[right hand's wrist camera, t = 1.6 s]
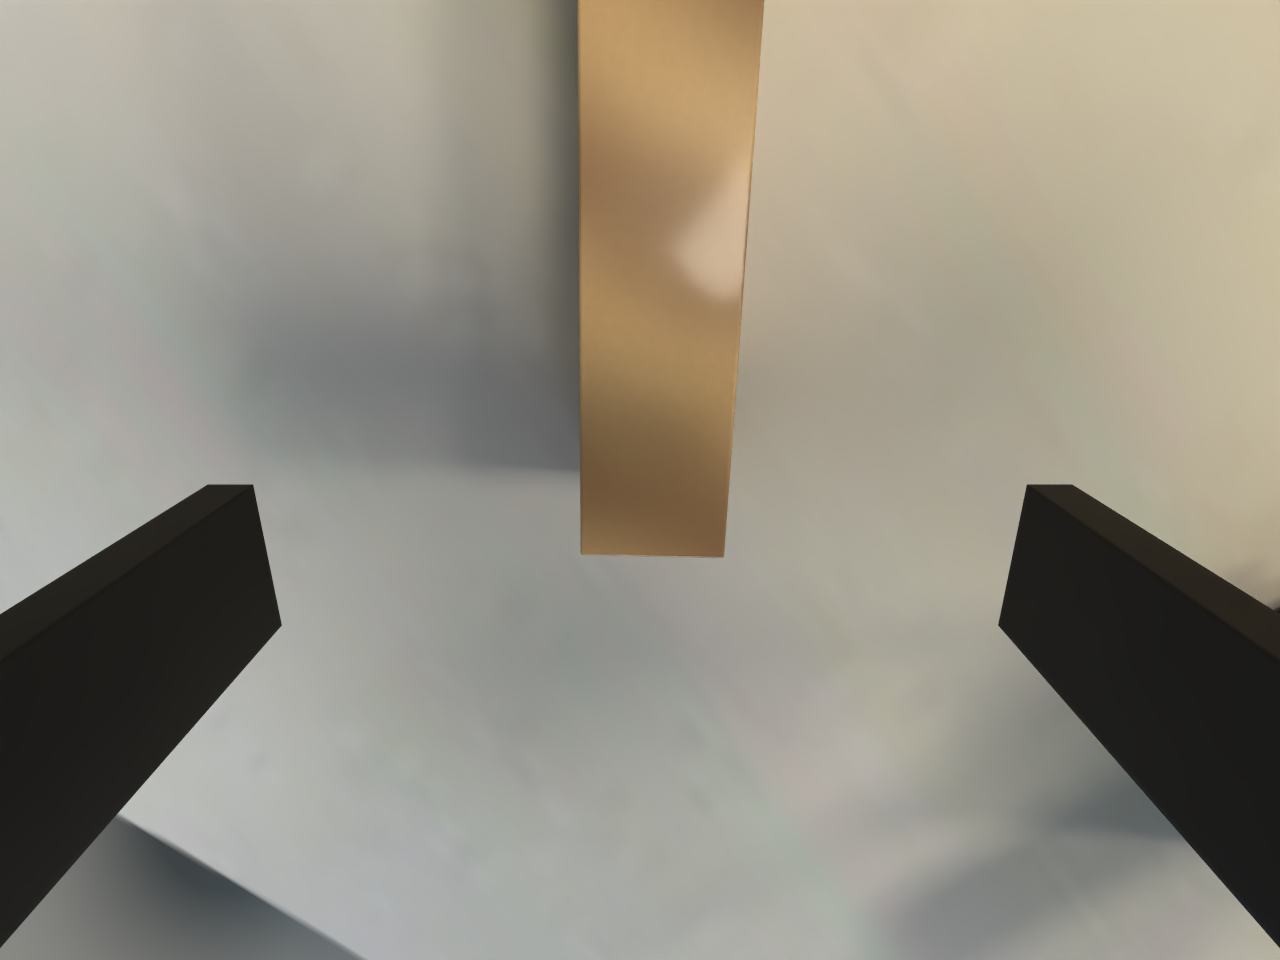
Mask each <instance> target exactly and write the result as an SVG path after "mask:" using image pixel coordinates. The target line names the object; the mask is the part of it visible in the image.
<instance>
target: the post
mask: <svg viewBox="0 0 1280 960" xmlns="http://www.w3.org/2000/svg"><path fill="white" fill-rule="evenodd" d="M763 11H764V0H578V168H579V339H580V510H581V554H582V555H607V556H654V557H701V558H723V556H724V548H725V534H726V520H727V507H728V493H729V479H730V465H731V451H732V438H733V424H734V410H735V396H736V383H737V369H738V355H739V341H740V327H741V314H742V300H743V286H744V272H745V259H746V245H747V231H748V217H749V203H750V190H751V176H752V162H753V148H754V135H755V121H756V107H757V93H758V79H759V66H760V52H761V38H762V24H763Z"/></svg>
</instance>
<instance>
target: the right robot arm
mask: <svg viewBox="0 0 1280 960" xmlns="http://www.w3.org/2000/svg"><path fill="white" fill-rule="evenodd" d="M281 626H282V624H281V619H280V615H279V610H278V605H277V600H276V595H275V590H274V585H273V580H272V575H271V570H270V566H269V561H268V556H267V551H266V546H265V541H264V536H263V531H262V526H261V521H260V516H259V512H258V507H257V502H256V497H255V492H254V487H253V485H206V486H205V487H203V488H202V489H200V490H198V491H197V492H195V493H194V494H192V495H190V496H189V497H187V498H186V499H184V500H182V501H181V502H179V503H178V504H176V505H174V506H173V507H171V508H170V509H168V510H166V511H165V512H163V513H162V514H160V515H158V516H157V517H155V518H154V519H152V520H150V521H149V522H147V523H146V524H144V525H142V526H141V527H139V528H138V529H136V530H134V531H133V532H131V533H130V534H128V535H126V536H125V537H123V538H122V539H120V540H118V541H117V542H115V543H114V544H112V545H110V546H109V547H107V548H106V549H104V550H102V551H101V552H99V553H98V554H96V555H94V556H93V557H91V558H90V559H88V560H86V561H85V562H83V563H82V564H80V565H78V566H77V567H75V568H74V569H72V570H70V571H69V572H67V573H66V574H64V575H62V576H61V577H59V578H58V579H56V580H54V581H53V582H51V583H50V584H48V585H46V586H45V587H43V588H42V589H40V590H38V591H37V592H35V593H34V594H32V595H30V596H29V597H27V598H26V599H24V600H22V601H21V602H19V603H18V604H16V605H14V606H13V607H11V608H10V609H8V610H6V611H5V612H3V613H2V614H0V948H1V946H2V945H3V944H4V943H5V942H6V941H7V940H8V938H9V937H10V936H11V935H12V934H13V933H14V931H15V930H16V929H17V928H18V927H19V926H20V925H21V923H22V922H23V921H24V920H25V919H26V918H27V917H28V915H29V914H30V913H31V912H32V911H33V910H34V909H35V907H36V906H37V905H38V904H39V903H40V902H41V901H42V899H43V898H44V897H45V896H46V895H47V894H48V893H49V891H50V890H51V889H52V888H53V887H54V886H55V885H56V883H57V882H58V881H59V880H60V879H61V878H62V876H63V875H64V874H65V873H66V872H67V871H68V870H69V868H70V867H71V866H72V865H73V864H74V863H75V862H76V860H77V859H78V858H79V857H80V856H81V855H82V854H83V852H84V851H85V850H86V849H87V848H88V847H89V846H90V844H91V843H92V842H93V841H94V840H95V839H96V838H97V836H98V835H99V834H100V833H101V832H102V831H103V830H104V828H105V827H106V826H107V825H108V824H109V823H110V821H111V820H112V819H113V818H114V817H115V816H116V815H117V813H118V812H119V811H120V810H121V809H122V808H123V807H124V805H125V804H126V803H127V802H128V801H129V800H130V799H131V797H132V796H133V795H134V794H135V793H136V792H137V791H138V789H139V788H140V787H141V786H142V785H143V784H144V783H145V781H146V780H147V779H148V778H149V777H150V776H151V775H152V773H153V772H154V771H155V770H156V769H157V768H158V766H159V765H160V764H161V763H162V762H163V761H164V760H165V758H166V757H167V756H168V755H169V754H170V753H171V752H172V750H173V749H174V748H175V747H176V746H177V745H178V744H179V742H180V741H181V740H182V739H183V738H184V737H185V736H186V734H187V733H188V732H189V731H190V730H191V729H192V728H193V726H194V725H195V724H196V723H197V722H198V721H199V719H200V718H201V717H202V716H203V715H204V714H205V713H206V711H207V710H208V709H209V708H210V707H211V706H212V705H213V703H214V702H215V701H216V700H217V699H218V698H219V697H220V695H221V694H222V693H223V692H224V691H225V690H226V689H227V687H228V686H229V685H230V684H231V683H232V682H233V681H234V679H235V678H236V677H237V676H238V675H239V674H240V673H241V671H242V670H243V669H244V668H245V667H246V666H247V664H248V663H249V662H250V661H251V660H252V659H253V658H254V656H255V655H256V654H257V653H258V652H259V651H260V650H261V648H262V647H263V646H264V645H265V644H266V643H267V642H268V640H269V639H270V638H271V637H272V636H273V635H274V634H275V632H276V631H277V630H278V629H279V628H280V627H281ZM998 626H999V627H1000V628H1001V629H1002V630H1003V631H1004V632H1005V634H1006V635H1007V636H1008V637H1009V638H1010V639H1011V640H1012V642H1013V643H1014V644H1015V645H1016V646H1017V647H1018V648H1019V650H1020V651H1021V652H1022V653H1023V654H1024V655H1025V656H1026V658H1027V659H1028V660H1029V661H1030V662H1031V663H1032V664H1033V666H1034V667H1035V668H1036V669H1037V670H1038V671H1039V673H1040V674H1041V675H1042V676H1043V677H1044V678H1045V679H1046V681H1047V682H1048V683H1049V684H1050V685H1051V686H1052V687H1053V689H1054V690H1055V691H1056V692H1057V693H1058V694H1059V695H1060V697H1061V698H1062V699H1063V700H1064V701H1065V702H1066V703H1067V705H1068V706H1069V707H1070V708H1071V709H1072V710H1073V711H1074V713H1075V714H1076V715H1077V716H1078V717H1079V718H1080V719H1081V721H1082V722H1083V723H1084V724H1085V725H1086V726H1087V728H1088V729H1089V730H1090V731H1091V732H1092V733H1093V734H1094V736H1095V737H1096V738H1097V739H1098V740H1099V741H1100V742H1101V744H1102V745H1103V746H1104V747H1105V748H1106V749H1107V750H1108V752H1109V753H1110V754H1111V755H1112V756H1113V757H1114V758H1115V760H1116V761H1117V762H1118V763H1119V764H1120V765H1121V766H1122V768H1123V769H1124V770H1125V771H1126V772H1127V773H1128V775H1129V776H1130V777H1131V778H1132V779H1133V780H1134V781H1135V783H1136V784H1137V785H1138V786H1139V787H1140V788H1141V789H1142V791H1143V792H1144V793H1145V794H1146V795H1147V796H1148V797H1149V799H1150V800H1151V801H1152V802H1153V803H1154V804H1155V805H1156V807H1157V808H1158V809H1159V810H1160V811H1161V812H1162V813H1163V815H1164V816H1165V817H1166V818H1167V819H1168V820H1169V821H1170V823H1171V824H1172V825H1173V826H1174V827H1175V828H1176V830H1177V831H1178V832H1179V833H1180V834H1181V835H1182V836H1183V838H1184V839H1185V840H1186V841H1187V842H1188V843H1189V844H1190V846H1191V847H1192V848H1193V849H1194V850H1195V851H1196V852H1197V854H1198V855H1199V856H1200V857H1201V858H1202V859H1203V860H1204V862H1205V863H1206V864H1207V865H1208V866H1209V867H1210V868H1211V870H1212V871H1213V872H1214V873H1215V874H1216V875H1217V877H1218V878H1219V879H1220V880H1221V881H1222V882H1223V883H1224V885H1225V886H1226V887H1227V888H1228V889H1229V890H1230V891H1231V893H1232V894H1233V895H1234V896H1235V897H1236V898H1237V899H1238V901H1239V902H1240V903H1241V904H1242V905H1243V906H1244V907H1245V909H1246V910H1247V911H1248V912H1249V913H1250V914H1251V915H1252V917H1253V918H1254V919H1255V920H1256V921H1257V922H1258V924H1259V925H1260V926H1261V927H1262V928H1263V929H1264V930H1265V932H1266V933H1267V934H1268V935H1269V936H1270V937H1271V938H1272V940H1273V941H1274V942H1275V943H1276V944H1277V945H1278V946H1279V948H1280V613H1279V614H1278V613H1277V612H1275V611H1274V610H1272V609H1270V608H1269V607H1267V606H1266V605H1264V604H1262V603H1261V602H1259V601H1258V600H1256V599H1254V598H1253V597H1251V596H1250V595H1248V594H1246V593H1245V592H1243V591H1242V590H1240V589H1238V588H1237V587H1235V586H1234V585H1232V584H1230V583H1229V582H1227V581H1226V580H1224V579H1222V578H1221V577H1219V576H1218V575H1216V574H1214V573H1213V572H1211V571H1210V570H1208V569H1206V568H1205V567H1203V566H1202V565H1200V564H1198V563H1197V562H1195V561H1194V560H1192V559H1190V558H1189V557H1187V556H1186V555H1184V554H1182V553H1181V552H1179V551H1178V550H1176V549H1174V548H1173V547H1171V546H1170V545H1168V544H1166V543H1165V542H1163V541H1162V540H1160V539H1158V538H1157V537H1155V536H1154V535H1152V534H1150V533H1149V532H1147V531H1146V530H1144V529H1142V528H1141V527H1139V526H1138V525H1136V524H1134V523H1133V522H1131V521H1130V520H1128V519H1126V518H1125V517H1123V516H1122V515H1120V514H1118V513H1117V512H1115V511H1114V510H1112V509H1110V508H1109V507H1107V506H1106V505H1104V504H1102V503H1101V502H1099V501H1098V500H1096V499H1094V498H1093V497H1091V496H1090V495H1088V494H1086V493H1085V492H1083V491H1082V490H1080V489H1078V488H1077V487H1075V486H1074V485H1027V487H1026V492H1025V497H1024V502H1023V507H1022V512H1021V516H1020V521H1019V526H1018V531H1017V536H1016V541H1015V546H1014V551H1013V556H1012V561H1011V566H1010V570H1009V575H1008V580H1007V585H1006V590H1005V595H1004V600H1003V605H1002V610H1001V615H1000V619H999V624H998Z"/></svg>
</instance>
